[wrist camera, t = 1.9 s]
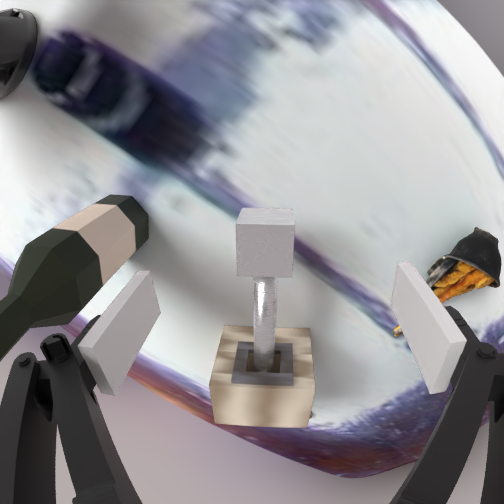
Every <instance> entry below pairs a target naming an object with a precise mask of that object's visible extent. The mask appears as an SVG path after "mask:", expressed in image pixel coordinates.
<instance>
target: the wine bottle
mask: <svg viewBox="0 0 504 504" xmlns="http://www.w3.org/2000/svg"><path fill="white" fill-rule="evenodd" d="M148 238H149V234H148V214H147V213H146V212H145V211H144V210H143V208H142V207H141V206H140V205H139V204H138V203H137V202H136V200H135V199H134V198H133V197H132V196H123V195H109V196H107V197H105V198H103V199H102V200H100V201H98V202H96V203H94V204H93V205H91V206H89V207H87V208H85V209H84V210H82V211H80V212H78V213H77V214H75V215H73V216H72V217H70V218H68V219H67V220H65V221H63V222H62V223H60V224H58V225H57V226H55V227H53V228H52V229H50V230H49V231H47V232H45V233H44V234H42V235H41V236H39V237H37V238H36V239H34V240H33V241H31V242H30V243H28V244H27V245H26V246H25V248H24V250H23V252H22V253H21V255H20V257H19V259H18V261H17V263H16V265H15V268H14V272H13V275H12V279H11V283H10V287H9V290H8V294H7V296H6V297H4V298H3V299H2V300H1V301H0V361H1V360H2V359H3V358H4V357H5V355H6V354H7V353H8V352H9V351H10V350H11V349H12V347H13V346H14V345H15V344H16V343H17V342H18V341H19V340H20V338H21V337H22V336H23V335H24V334H25V333H26V332H27V331H28V330H29V329H30V328H36V327H47V326H57V325H66V324H69V323H70V322H71V321H72V320H73V318H74V317H75V316H76V315H77V314H78V313H79V312H80V311H81V310H82V309H83V308H84V307H85V306H86V304H87V303H88V302H89V301H90V300H91V299H92V298H93V297H94V295H95V294H96V293H97V292H98V291H99V290H100V289H101V288H102V287H103V286H104V284H105V283H106V282H107V281H108V280H109V279H110V278H111V277H112V276H113V275H114V274H115V273H116V271H117V270H118V269H119V268H120V267H121V266H122V265H123V264H124V263H125V262H126V261H127V260H128V259H129V258H130V257H131V256H132V255H133V254H134V253H135V252H136V250H137V249H138V248H139V247H140V246H141V245H142V244H143V243H144V242H145V241H146V240H147V239H148Z"/></svg>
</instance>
